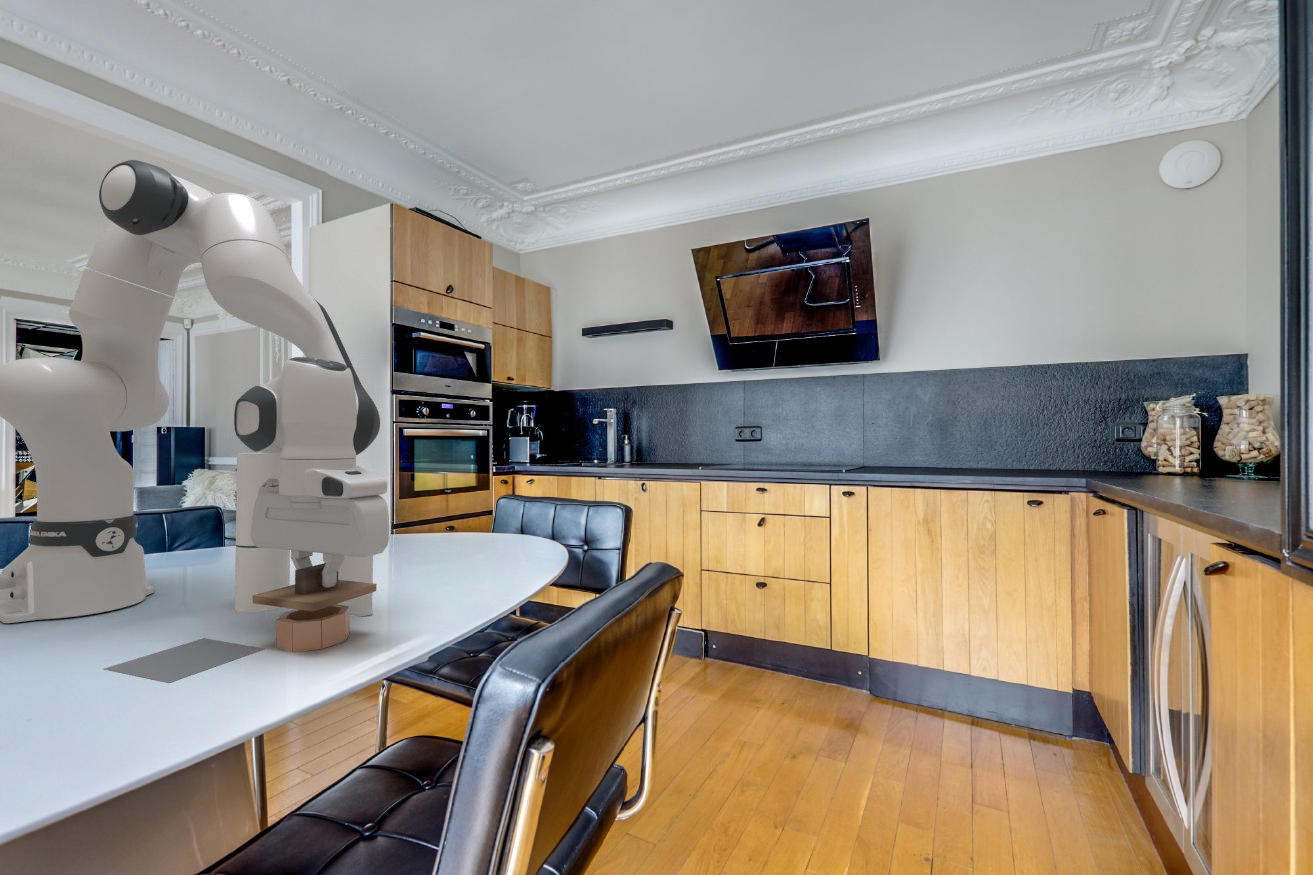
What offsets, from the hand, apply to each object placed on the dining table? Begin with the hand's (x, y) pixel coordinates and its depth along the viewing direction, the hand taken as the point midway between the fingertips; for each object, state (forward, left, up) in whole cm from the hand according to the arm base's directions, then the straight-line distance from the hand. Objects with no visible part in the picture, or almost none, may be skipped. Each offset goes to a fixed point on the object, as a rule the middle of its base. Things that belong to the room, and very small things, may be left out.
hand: (317, 585), depth 77 cm
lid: (0, 0, -2) cm, 2 cm away
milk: (-8, +13, -8) cm, 17 cm away
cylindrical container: (-21, +9, -8) cm, 24 cm away
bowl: (0, 0, -8) cm, 8 cm away
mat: (-9, -10, -8) cm, 16 cm away
